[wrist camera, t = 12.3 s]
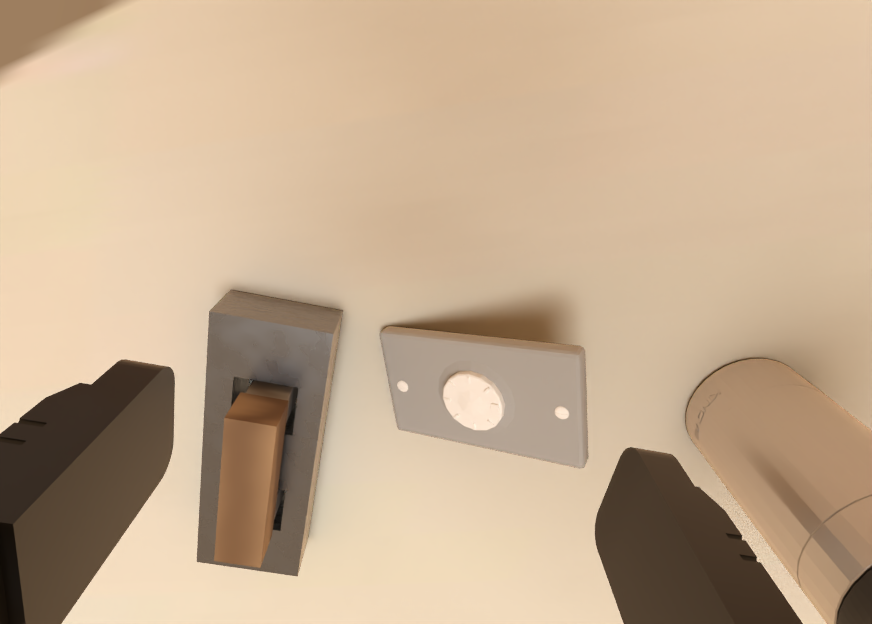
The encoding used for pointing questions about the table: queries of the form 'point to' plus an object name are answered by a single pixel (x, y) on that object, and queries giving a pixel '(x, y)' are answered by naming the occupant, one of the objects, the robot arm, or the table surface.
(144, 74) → the table surface
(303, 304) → the grey slotted holder
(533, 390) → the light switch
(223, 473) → the brown u-shaped block
